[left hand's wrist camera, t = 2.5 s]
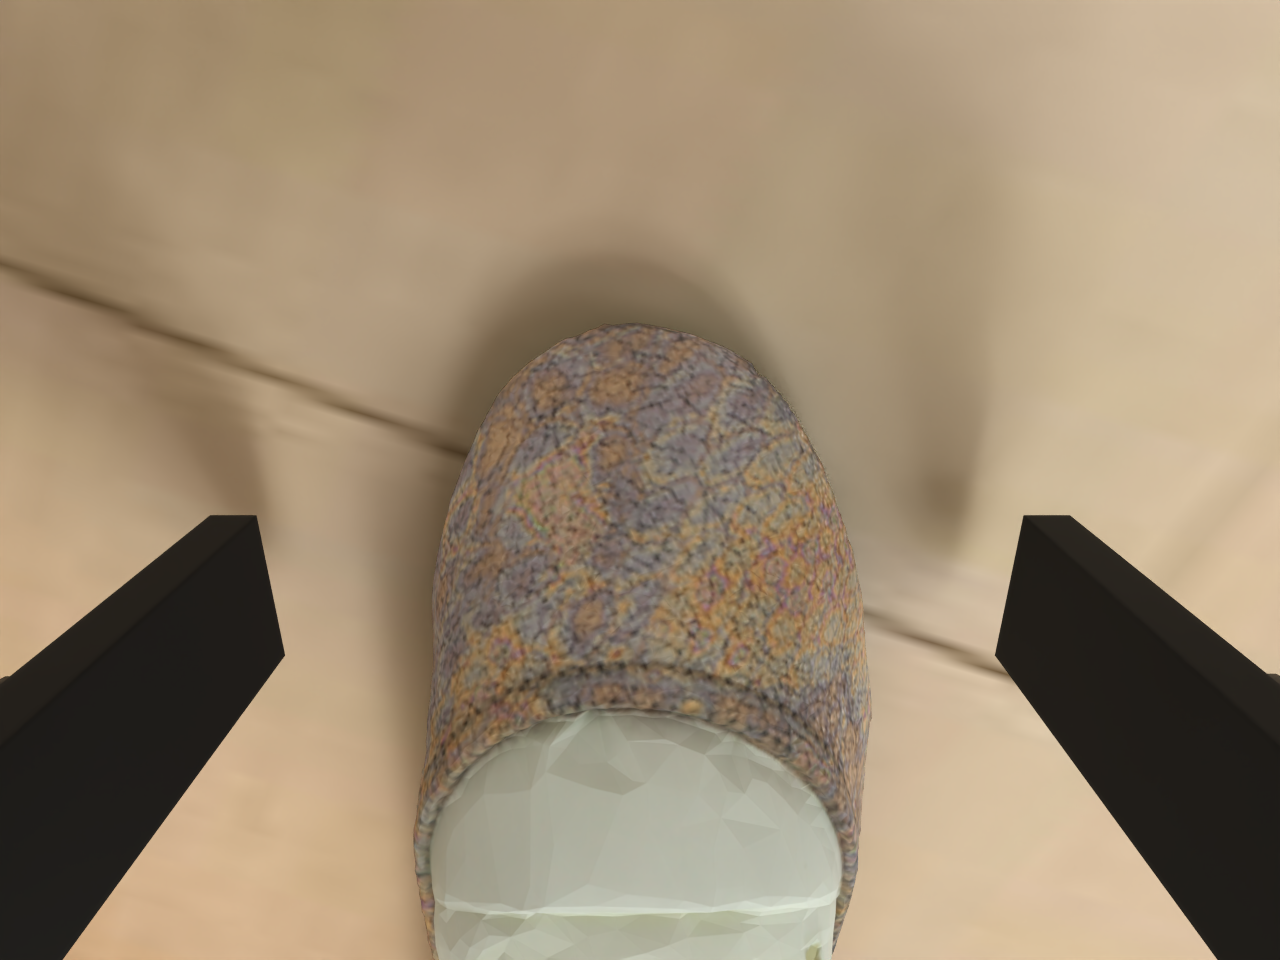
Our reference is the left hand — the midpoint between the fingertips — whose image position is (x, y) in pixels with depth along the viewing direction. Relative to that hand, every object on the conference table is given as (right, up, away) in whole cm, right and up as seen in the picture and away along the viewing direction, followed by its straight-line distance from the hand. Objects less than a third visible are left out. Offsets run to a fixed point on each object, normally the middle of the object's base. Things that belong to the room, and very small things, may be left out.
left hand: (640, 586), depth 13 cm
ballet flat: (0, -7, +5) cm, 8 cm away
